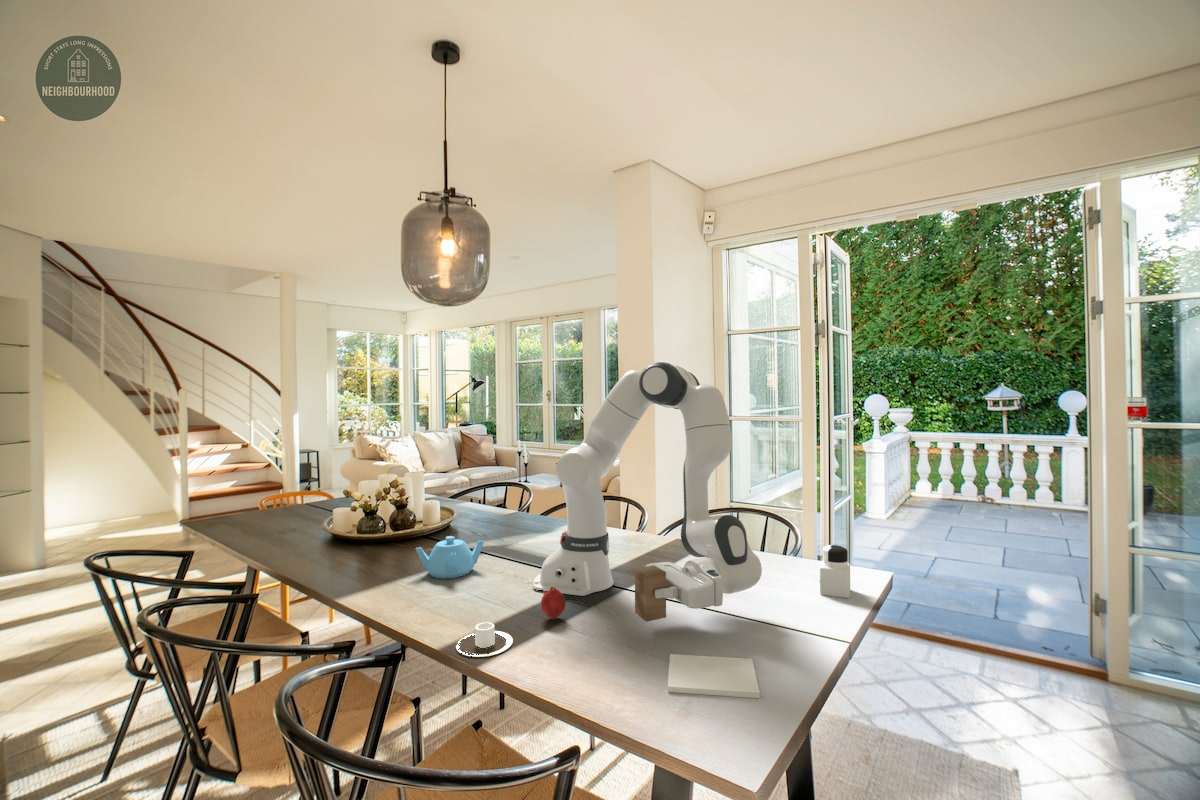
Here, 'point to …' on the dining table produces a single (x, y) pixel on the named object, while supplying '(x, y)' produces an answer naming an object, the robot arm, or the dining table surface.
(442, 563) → the teapot
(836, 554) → the medicine bottle
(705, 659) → the serving plate
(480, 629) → the candle holder
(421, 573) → the dining table surface
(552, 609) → the onion
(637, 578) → the walnut block
